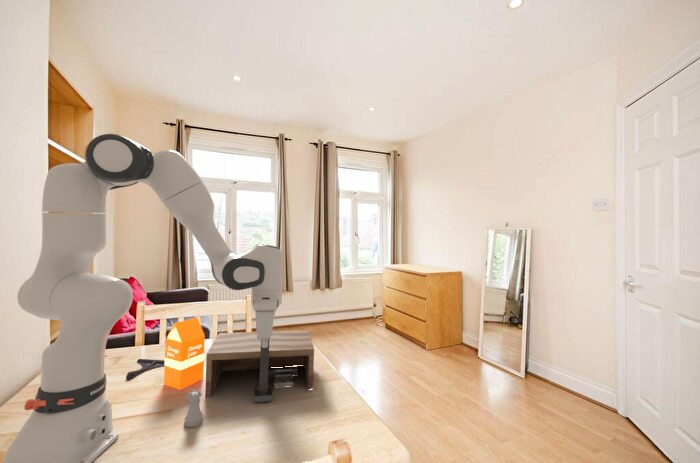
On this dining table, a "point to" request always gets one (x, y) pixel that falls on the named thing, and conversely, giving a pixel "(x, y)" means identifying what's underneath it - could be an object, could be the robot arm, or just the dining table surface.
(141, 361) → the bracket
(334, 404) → the dining table surface
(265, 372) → the hook tool
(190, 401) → the rook chess piece
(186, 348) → the orange juice
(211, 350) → the low cabinet
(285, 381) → the block
